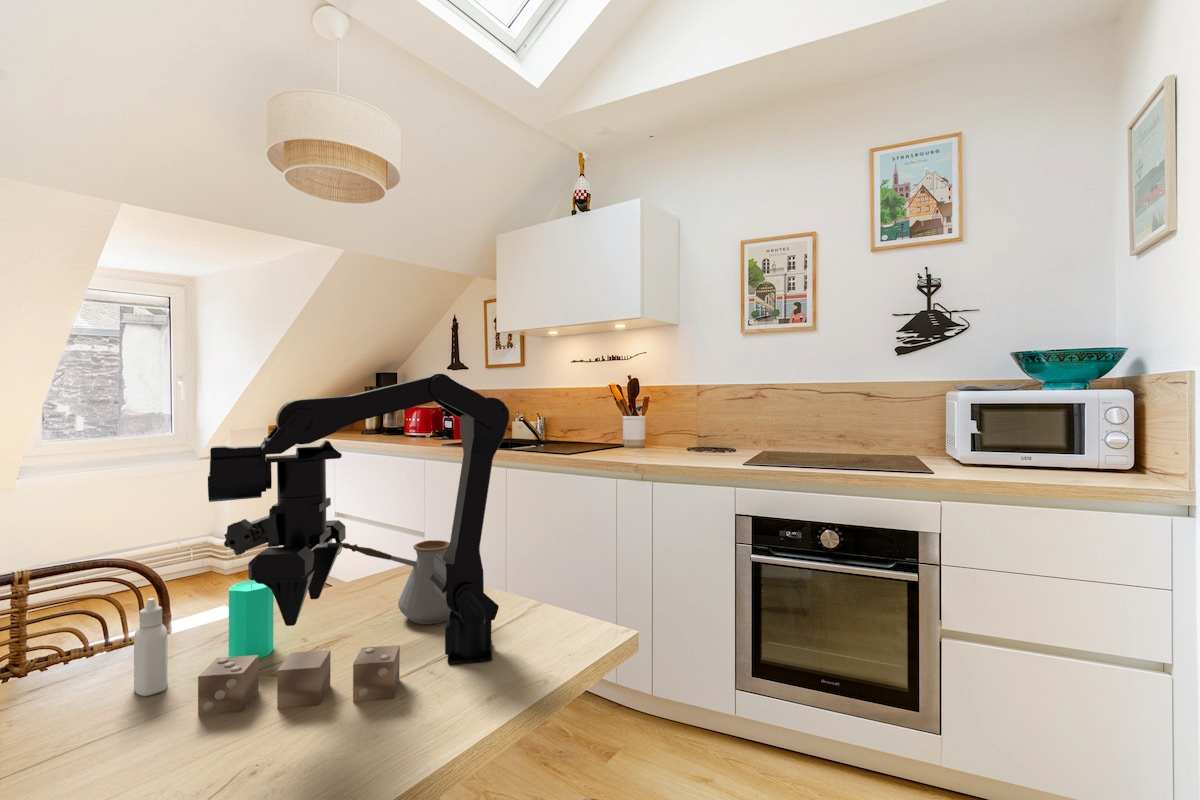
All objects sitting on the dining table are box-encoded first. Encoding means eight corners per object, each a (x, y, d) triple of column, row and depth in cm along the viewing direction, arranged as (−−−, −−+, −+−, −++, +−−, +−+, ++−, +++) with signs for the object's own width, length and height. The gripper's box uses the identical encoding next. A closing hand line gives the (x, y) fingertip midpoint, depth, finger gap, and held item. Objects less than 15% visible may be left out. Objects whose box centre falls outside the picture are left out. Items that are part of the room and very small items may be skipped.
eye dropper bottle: (177, 675, 81) (177, 590, 81) (162, 695, 75) (162, 604, 75) (140, 680, 79) (140, 593, 79) (121, 701, 74) (121, 608, 74)
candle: (252, 664, 84) (252, 582, 84) (217, 659, 86) (218, 579, 86) (282, 646, 90) (283, 570, 90) (250, 642, 92) (250, 567, 91)
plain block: (330, 686, 78) (330, 649, 78) (319, 705, 74) (320, 667, 73) (290, 689, 78) (290, 652, 77) (277, 709, 73) (277, 670, 73)
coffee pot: (454, 600, 111) (455, 523, 111) (472, 621, 101) (473, 536, 101) (333, 620, 101) (334, 535, 100) (339, 646, 91) (340, 551, 90)
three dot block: (258, 692, 77) (258, 653, 77) (242, 713, 72) (242, 672, 72) (216, 695, 76) (216, 656, 76) (197, 717, 71) (197, 675, 71)
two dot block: (399, 680, 80) (399, 644, 80) (393, 700, 75) (393, 660, 75) (361, 683, 79) (361, 646, 79) (352, 703, 74) (352, 663, 74)
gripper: (265, 484, 84) (266, 590, 84) (197, 511, 65) (199, 646, 66) (346, 482, 86) (347, 586, 86) (302, 507, 67) (304, 639, 68)
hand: (303, 611), depth 76 cm, fingers open, 9 cm apart
